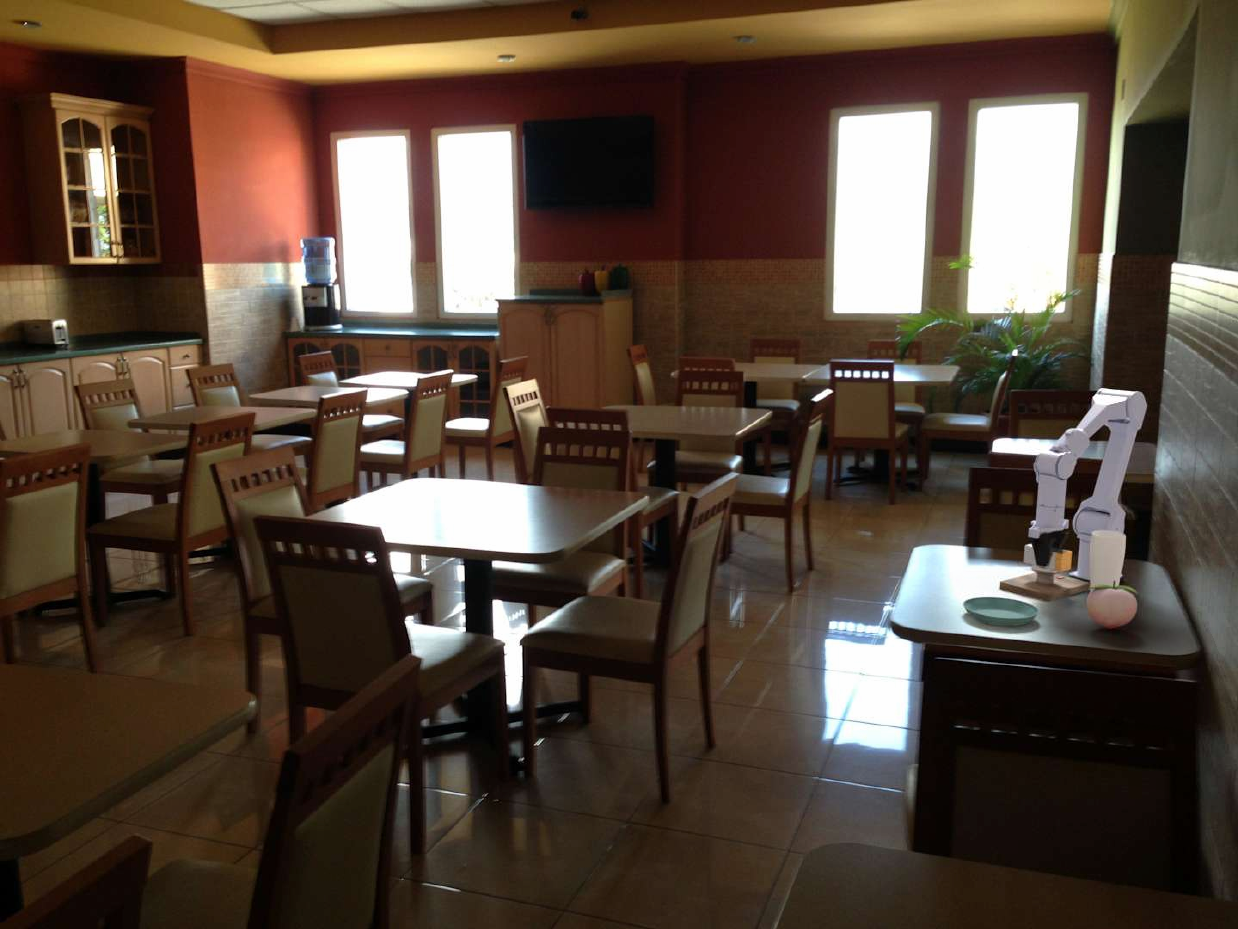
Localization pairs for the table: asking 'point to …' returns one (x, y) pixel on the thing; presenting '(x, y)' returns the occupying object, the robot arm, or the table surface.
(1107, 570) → the drinking glass
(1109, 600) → the decorative fruit
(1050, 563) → the grey and orange block
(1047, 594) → the mount plate
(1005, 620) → the saucer
